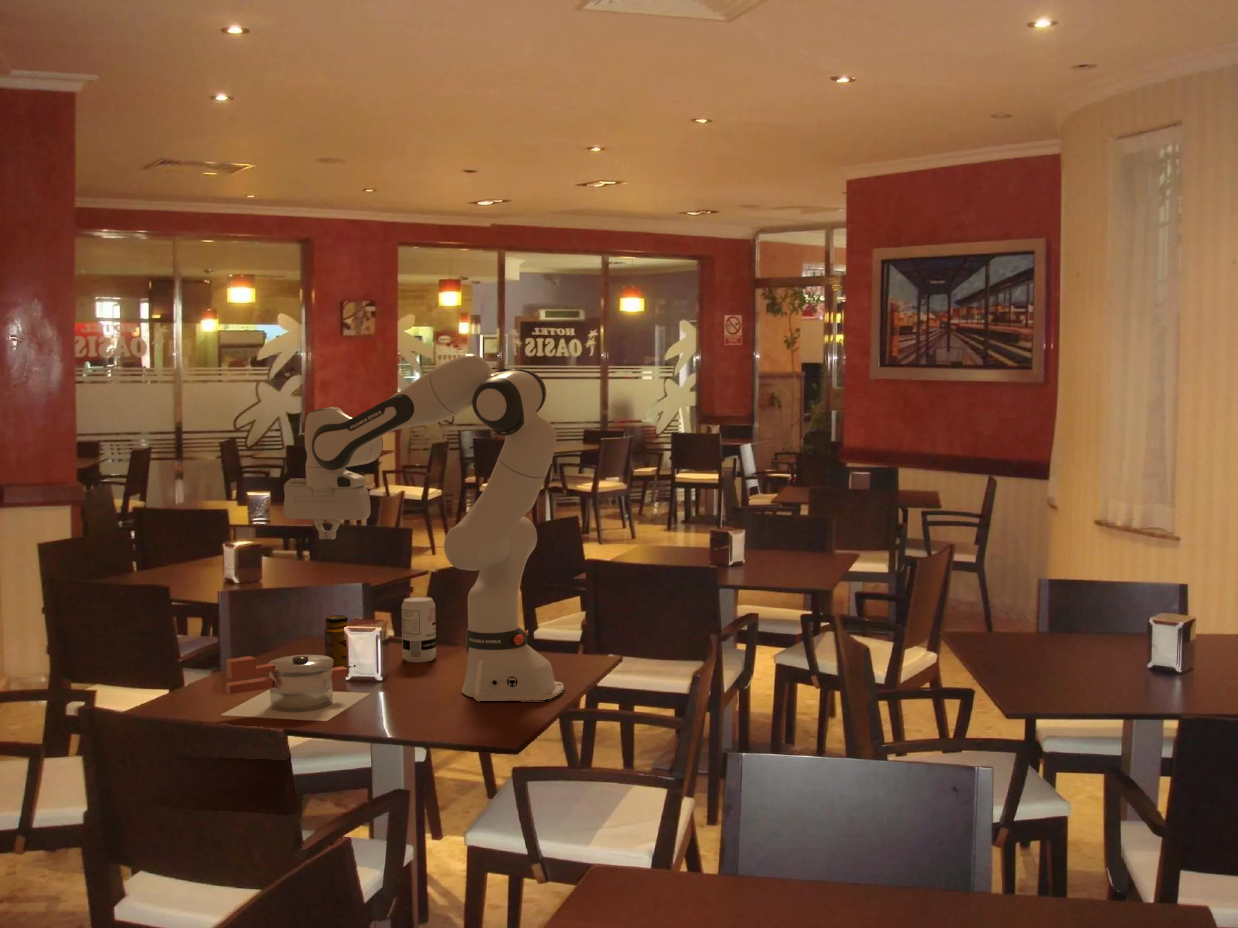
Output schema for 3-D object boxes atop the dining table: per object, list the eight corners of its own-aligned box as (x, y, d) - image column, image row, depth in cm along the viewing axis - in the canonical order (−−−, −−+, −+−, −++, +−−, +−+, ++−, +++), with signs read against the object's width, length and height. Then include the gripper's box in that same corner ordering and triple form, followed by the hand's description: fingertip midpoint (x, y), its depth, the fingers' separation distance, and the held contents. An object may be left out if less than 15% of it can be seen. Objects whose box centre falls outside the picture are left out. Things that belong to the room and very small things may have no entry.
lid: (317, 656, 283) (316, 639, 282) (343, 667, 272) (343, 650, 272) (217, 671, 269) (216, 654, 269) (241, 684, 258) (240, 666, 258)
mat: (370, 694, 282) (370, 693, 282) (326, 722, 261) (326, 720, 261) (271, 689, 287) (271, 688, 287) (220, 716, 266) (220, 714, 266)
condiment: (356, 666, 309) (355, 617, 308) (323, 671, 305) (321, 621, 304) (345, 660, 315) (344, 612, 314) (312, 665, 311) (310, 616, 310)
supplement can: (400, 656, 318) (399, 597, 317) (433, 654, 321) (432, 595, 320) (405, 664, 311) (403, 603, 309) (438, 661, 313) (437, 601, 312)
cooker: (352, 696, 280) (351, 660, 279) (311, 721, 260) (310, 682, 260) (269, 691, 284) (267, 656, 284) (222, 716, 265) (220, 678, 264)
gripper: (277, 479, 290) (279, 539, 291) (361, 480, 286) (362, 541, 287) (290, 477, 296) (292, 536, 298) (372, 477, 292) (374, 537, 293)
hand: (327, 538), depth 292 cm, fingers closed
